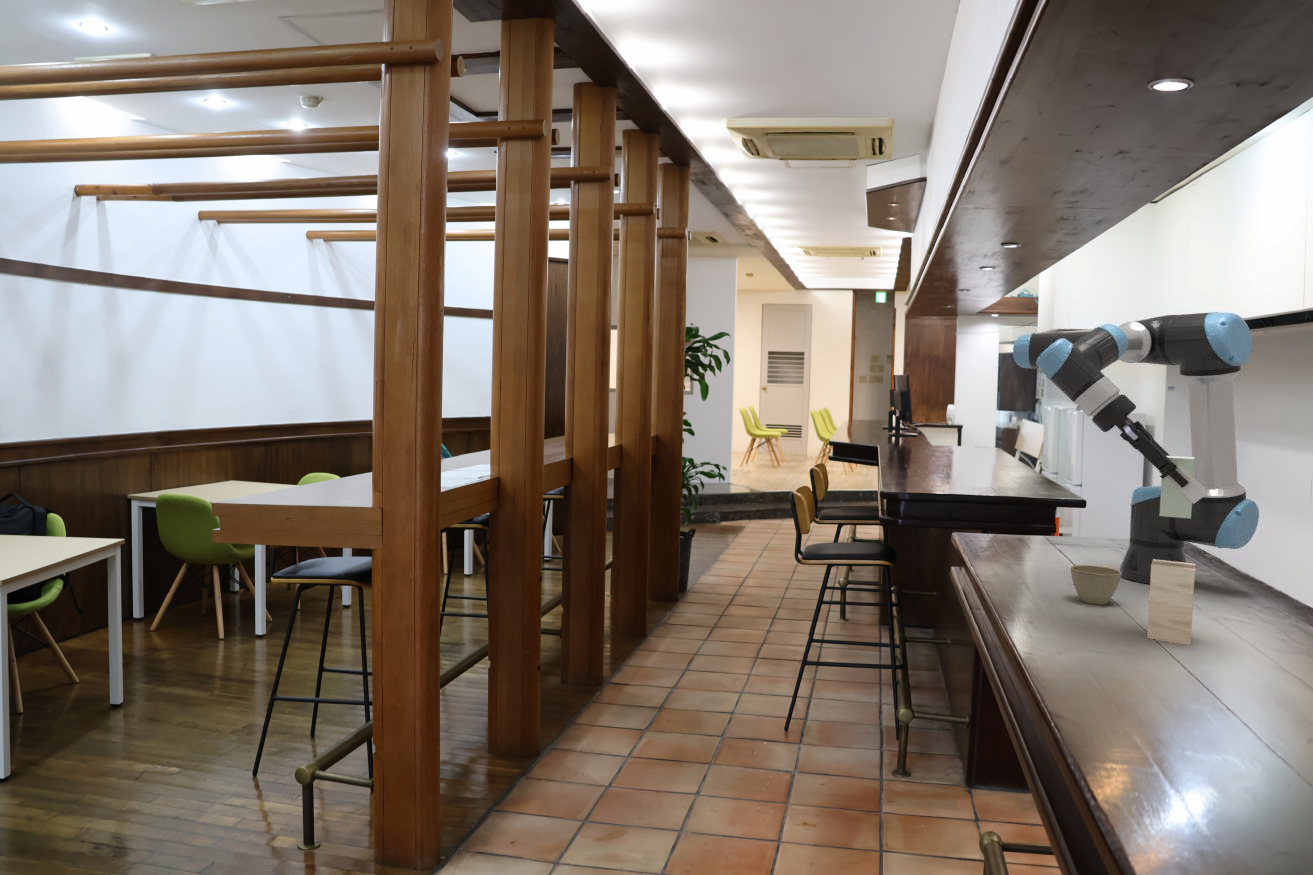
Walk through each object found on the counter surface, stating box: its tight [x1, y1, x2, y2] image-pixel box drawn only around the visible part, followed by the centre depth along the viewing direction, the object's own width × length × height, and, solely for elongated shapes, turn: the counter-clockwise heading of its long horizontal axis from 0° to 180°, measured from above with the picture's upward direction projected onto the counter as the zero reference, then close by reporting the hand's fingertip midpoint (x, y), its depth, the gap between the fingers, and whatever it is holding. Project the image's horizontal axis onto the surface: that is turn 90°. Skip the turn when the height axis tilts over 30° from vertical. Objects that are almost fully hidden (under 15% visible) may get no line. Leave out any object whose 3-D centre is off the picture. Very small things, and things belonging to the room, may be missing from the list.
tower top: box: [1148, 559, 1196, 609], centre depth 167 cm, size 7×7×7 cm
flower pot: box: [1070, 564, 1122, 605], centre depth 194 cm, size 10×10×7 cm
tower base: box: [1146, 601, 1194, 646], centre depth 167 cm, size 7×7×7 cm
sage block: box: [1160, 455, 1195, 519], centre depth 166 cm, size 5×5×11 cm
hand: (1200, 497), depth 164 cm, fingers closed on sage block, 5 cm apart
